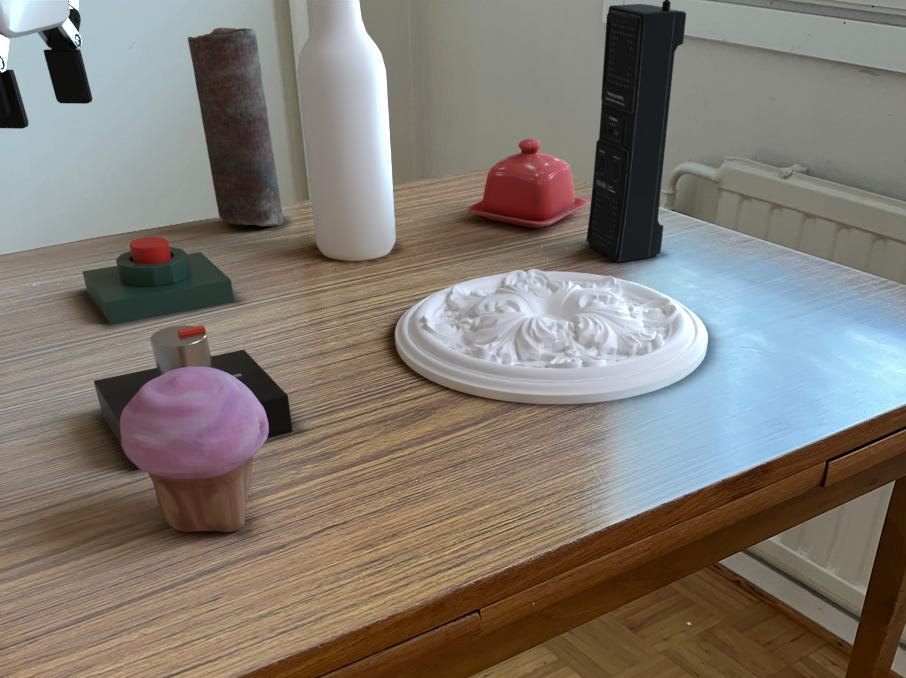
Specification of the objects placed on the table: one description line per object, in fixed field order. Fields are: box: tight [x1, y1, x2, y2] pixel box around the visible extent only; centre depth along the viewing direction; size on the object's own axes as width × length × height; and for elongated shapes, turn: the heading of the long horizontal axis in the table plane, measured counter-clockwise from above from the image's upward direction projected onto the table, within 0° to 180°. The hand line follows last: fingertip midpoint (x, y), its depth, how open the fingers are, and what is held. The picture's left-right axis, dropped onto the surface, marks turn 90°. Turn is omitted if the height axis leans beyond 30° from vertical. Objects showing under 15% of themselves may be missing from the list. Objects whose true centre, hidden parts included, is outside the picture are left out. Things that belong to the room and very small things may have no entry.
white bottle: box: [297, 0, 397, 262], centre depth 99 cm, size 9×9×30 cm
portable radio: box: [585, 0, 687, 263], centre depth 100 cm, size 8×6×25 cm
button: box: [129, 236, 171, 264], centre depth 94 cm, size 4×4×2 cm
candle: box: [187, 27, 284, 228], centre depth 110 cm, size 8×7×20 cm
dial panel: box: [93, 349, 294, 471], centre depth 75 cm, size 12×10×3 cm
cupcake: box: [120, 367, 269, 533], centre depth 62 cm, size 9×9×10 cm
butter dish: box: [467, 138, 590, 229], centre depth 115 cm, size 12×12×8 cm
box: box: [81, 245, 235, 326], centre depth 96 cm, size 12×10×4 cm
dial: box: [149, 324, 213, 376], centre depth 72 cm, size 4×4×4 cm
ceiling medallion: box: [394, 268, 709, 405], centre depth 88 cm, size 28×28×3 cm
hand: (44, 114), depth 81 cm, fingers open, 9 cm apart
